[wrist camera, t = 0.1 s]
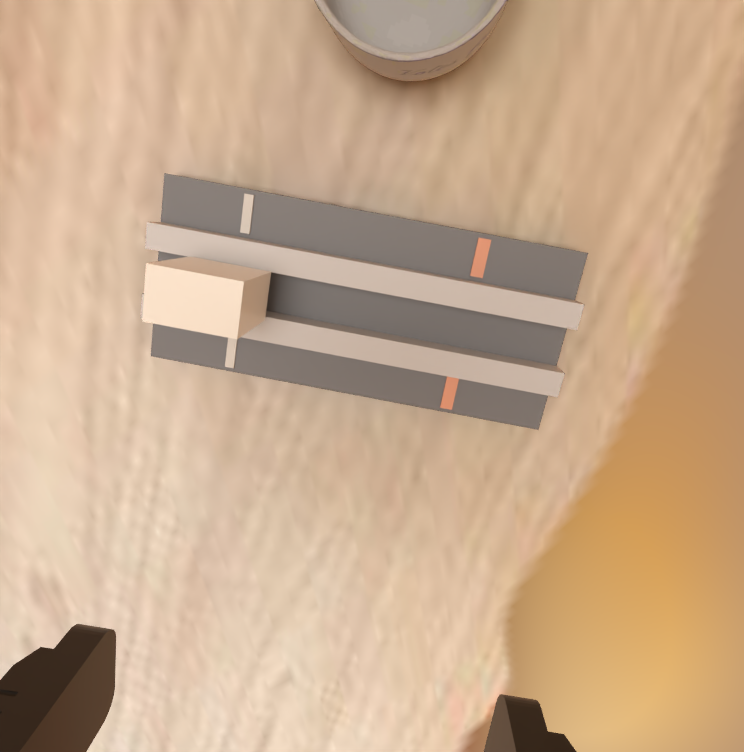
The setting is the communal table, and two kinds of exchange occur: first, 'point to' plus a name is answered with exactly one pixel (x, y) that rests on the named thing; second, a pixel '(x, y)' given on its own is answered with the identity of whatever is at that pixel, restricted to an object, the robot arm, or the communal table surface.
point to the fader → (205, 296)
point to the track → (378, 302)
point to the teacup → (412, 33)
